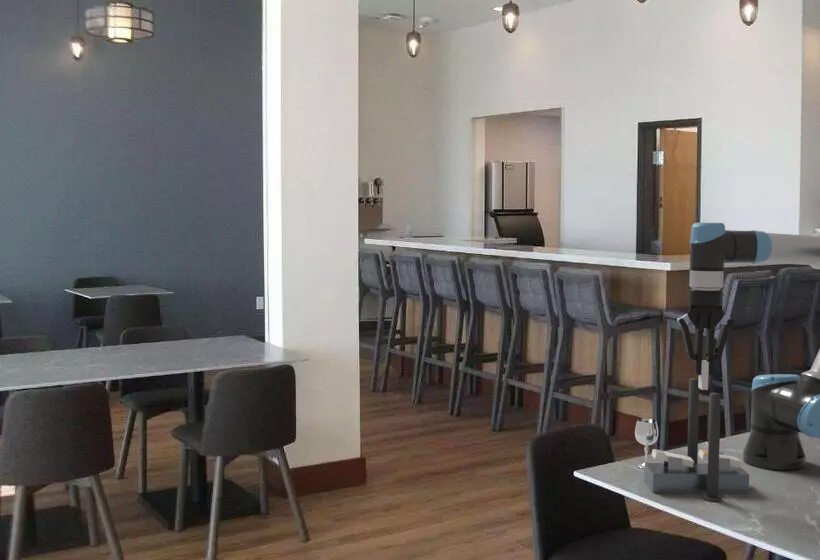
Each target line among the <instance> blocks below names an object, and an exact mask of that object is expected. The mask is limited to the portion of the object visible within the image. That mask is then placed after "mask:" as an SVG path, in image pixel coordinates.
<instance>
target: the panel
mask: <svg viewBox="0 0 820 560" xmlns="http://www.w3.org/2000/svg"><path fill="white" fill-rule="evenodd" d="M668 452H669V453H674V454H678V453H677V451H668ZM719 454H723V455H724V452H720V451H719ZM707 479H708V462H707V463H706V462H705V463H704V462H703V463H702V462H701V463H698V462H697V463H694V464H693V467H689V466H684V465H682V458H669V459H668V462H666V461H662V462H648V463H645V469H644V482H645V484H646V485H647V486H648V488H649V489H650V491H651V492H652V493H655V494H662V493H663V494H707ZM735 493H737V495H738V493H740V495H741V494H742V495H745V494H748V495H749V493H750V474H749V473H748V472H747V471H745V469H743V467H740V468H739V467H734V466H730V459H729V458H719V486H718V494H728V495H729V494H735ZM735 495H736V494H735Z"/></svg>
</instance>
